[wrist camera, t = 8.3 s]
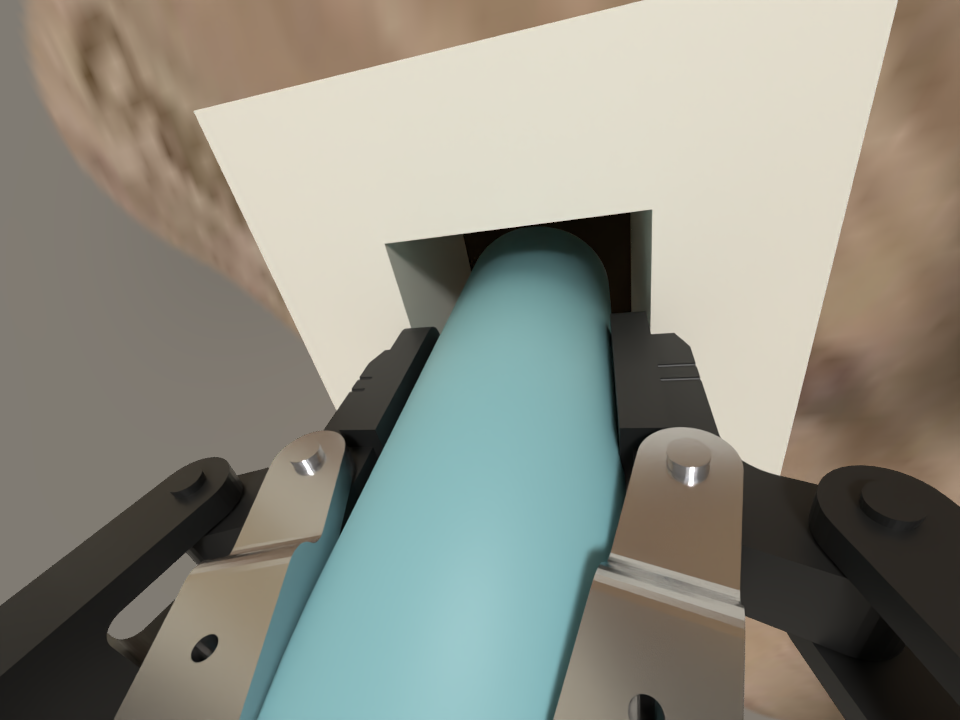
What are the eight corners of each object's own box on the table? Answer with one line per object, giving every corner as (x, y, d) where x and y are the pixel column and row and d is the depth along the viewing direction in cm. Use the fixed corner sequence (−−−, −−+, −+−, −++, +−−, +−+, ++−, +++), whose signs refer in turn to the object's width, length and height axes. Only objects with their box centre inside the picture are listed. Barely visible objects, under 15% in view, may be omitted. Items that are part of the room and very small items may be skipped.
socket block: (769, -20, 11) (914, -66, 6) (720, 380, 17) (770, 512, 12) (329, 85, 14) (193, 111, 9) (427, 389, 20) (378, 497, 16)
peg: (606, 216, 11) (695, 1121, 2) (611, 347, 14) (666, 1079, 4) (456, 236, 13) (33, 879, 3) (483, 354, 15) (288, 949, 5)
